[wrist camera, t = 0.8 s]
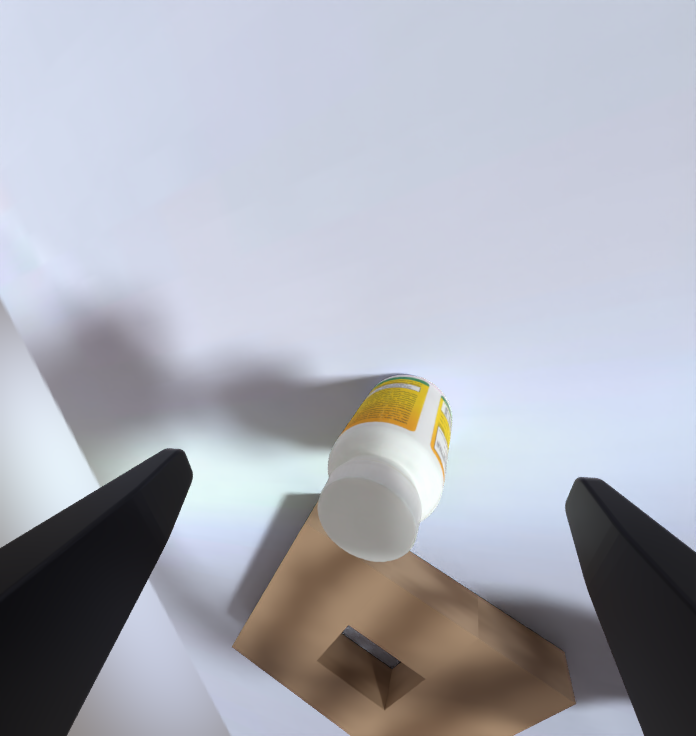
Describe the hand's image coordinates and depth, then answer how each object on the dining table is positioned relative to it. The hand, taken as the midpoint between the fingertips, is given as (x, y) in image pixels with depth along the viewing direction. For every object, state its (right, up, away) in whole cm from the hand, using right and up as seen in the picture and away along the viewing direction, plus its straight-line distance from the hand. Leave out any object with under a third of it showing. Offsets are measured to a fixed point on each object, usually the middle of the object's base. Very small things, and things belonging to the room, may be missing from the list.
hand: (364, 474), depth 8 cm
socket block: (+2, -20, +22) cm, 30 cm away
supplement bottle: (+3, 0, +14) cm, 14 cm away
